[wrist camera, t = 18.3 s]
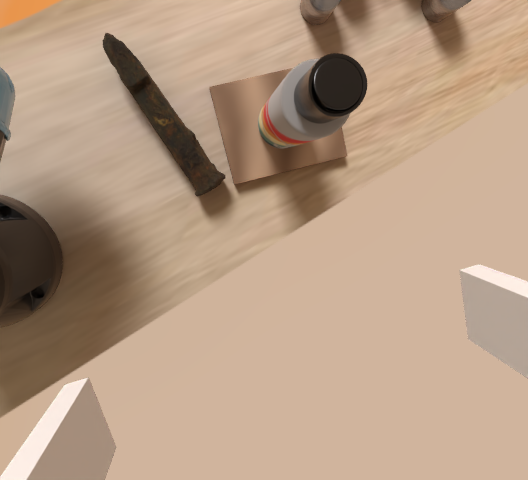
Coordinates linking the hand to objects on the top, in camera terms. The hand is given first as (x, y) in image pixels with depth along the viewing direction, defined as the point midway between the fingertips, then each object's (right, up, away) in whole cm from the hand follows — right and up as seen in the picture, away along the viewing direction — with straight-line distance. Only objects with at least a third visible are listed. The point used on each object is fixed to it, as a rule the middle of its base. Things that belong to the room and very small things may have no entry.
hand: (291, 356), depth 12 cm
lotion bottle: (+1, +17, +29) cm, 34 cm away
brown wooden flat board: (+1, +18, +30) cm, 35 cm away
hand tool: (-13, +18, +29) cm, 36 cm away
